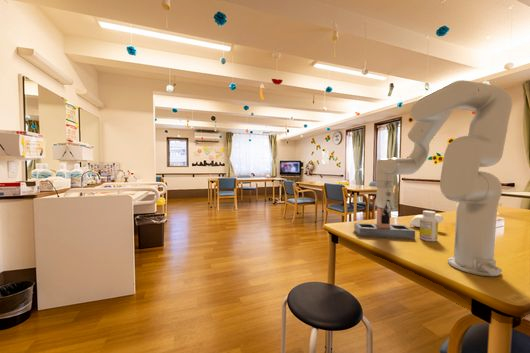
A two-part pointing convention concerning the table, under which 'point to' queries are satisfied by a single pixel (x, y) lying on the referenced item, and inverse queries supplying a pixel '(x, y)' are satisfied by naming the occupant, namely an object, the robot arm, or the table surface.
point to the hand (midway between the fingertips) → (383, 221)
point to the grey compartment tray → (384, 231)
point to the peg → (379, 219)
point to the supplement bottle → (429, 226)
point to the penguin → (416, 220)
